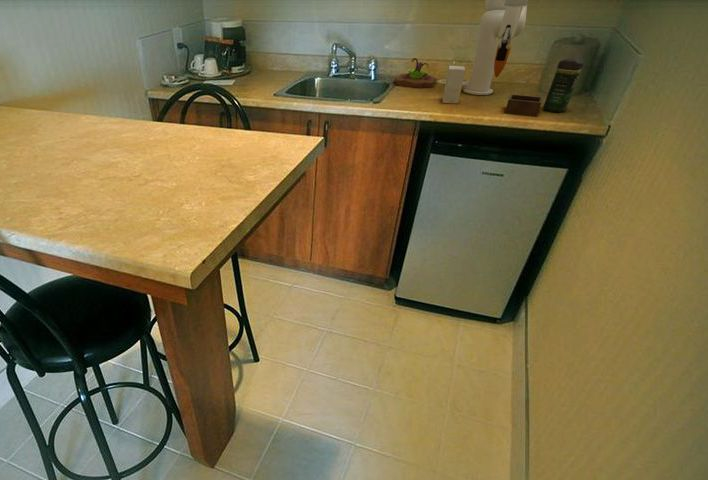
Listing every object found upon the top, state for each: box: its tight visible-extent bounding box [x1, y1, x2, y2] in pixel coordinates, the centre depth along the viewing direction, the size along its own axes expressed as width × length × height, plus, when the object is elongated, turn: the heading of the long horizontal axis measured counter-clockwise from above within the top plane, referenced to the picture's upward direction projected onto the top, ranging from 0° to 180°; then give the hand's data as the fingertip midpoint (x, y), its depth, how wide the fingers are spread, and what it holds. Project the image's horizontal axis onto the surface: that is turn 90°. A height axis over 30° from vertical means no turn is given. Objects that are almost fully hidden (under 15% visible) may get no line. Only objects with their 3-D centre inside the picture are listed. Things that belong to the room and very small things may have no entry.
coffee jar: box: [542, 56, 585, 113], centre depth 157 cm, size 10×8×19 cm
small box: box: [442, 65, 466, 104], centre depth 171 cm, size 8×6×13 cm
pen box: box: [504, 93, 543, 117], centre depth 159 cm, size 11×9×5 cm
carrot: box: [494, 38, 512, 78], centre depth 154 cm, size 5×5×15 cm
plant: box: [394, 57, 437, 89], centre depth 199 cm, size 20×20×11 cm
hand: (501, 58), depth 155 cm, fingers closed on carrot, 4 cm apart
